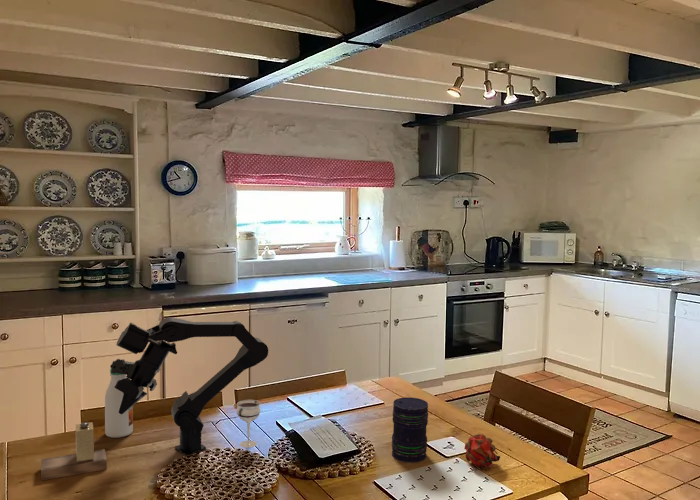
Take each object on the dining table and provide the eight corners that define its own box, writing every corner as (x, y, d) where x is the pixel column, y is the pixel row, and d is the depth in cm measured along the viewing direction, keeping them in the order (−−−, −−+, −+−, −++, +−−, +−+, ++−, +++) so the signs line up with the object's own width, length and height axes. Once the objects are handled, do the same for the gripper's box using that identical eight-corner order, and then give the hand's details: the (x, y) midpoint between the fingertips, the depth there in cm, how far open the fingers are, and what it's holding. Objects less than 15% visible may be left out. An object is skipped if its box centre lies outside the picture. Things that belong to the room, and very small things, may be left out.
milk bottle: (123, 439, 168) (122, 372, 166) (99, 436, 169) (98, 370, 168) (138, 429, 175) (137, 365, 174) (115, 427, 177) (114, 363, 175)
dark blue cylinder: (429, 451, 165) (431, 400, 164) (422, 465, 156) (424, 411, 154) (396, 445, 168) (397, 395, 167) (387, 459, 159) (388, 406, 158)
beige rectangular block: (92, 451, 153) (92, 419, 152) (93, 459, 149) (93, 425, 148) (76, 454, 151) (75, 421, 151) (76, 461, 147) (76, 428, 146)
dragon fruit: (473, 459, 164) (490, 485, 152) (452, 444, 162) (466, 469, 150) (492, 436, 163) (510, 461, 152) (471, 421, 161) (487, 445, 149)
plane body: (104, 458, 156) (104, 449, 155) (106, 469, 149) (106, 459, 149) (41, 468, 149) (41, 459, 149) (41, 480, 143) (40, 470, 142)
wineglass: (264, 442, 168) (265, 401, 167) (251, 450, 162) (251, 409, 161) (245, 437, 171) (245, 398, 170) (231, 446, 165) (231, 405, 164)
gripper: (135, 345, 165) (106, 394, 163) (113, 348, 147) (80, 404, 145) (169, 364, 165) (140, 413, 163) (152, 369, 147) (119, 425, 145)
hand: (120, 413), depth 154 cm, fingers closed
